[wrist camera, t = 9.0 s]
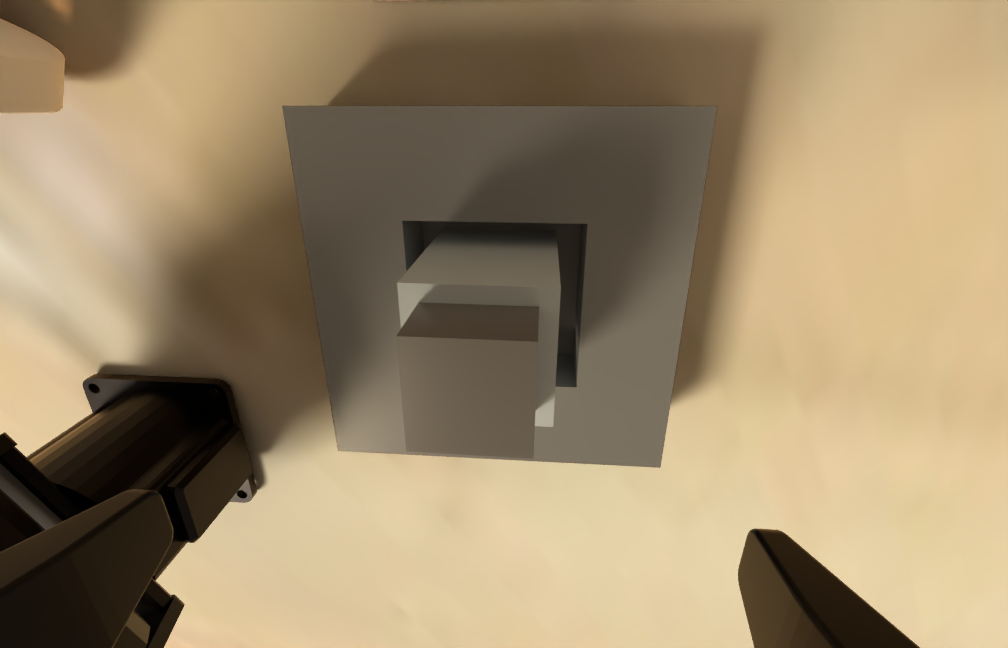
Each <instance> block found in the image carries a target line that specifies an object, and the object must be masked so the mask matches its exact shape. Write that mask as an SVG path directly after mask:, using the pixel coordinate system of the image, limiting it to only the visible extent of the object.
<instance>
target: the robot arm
mask: <svg viewBox="0 0 1008 648" xmlns="http://www.w3.org/2000/svg"><path fill="white" fill-rule="evenodd" d="M83 388H84V391H85V394H86V396H87V399H88V401H89V404H90V406H91V409H92V412H93V413H92V414H90V415H89V416H87V417H86V418H84V419H83V420H81V421H80V422H78V423H77V424H75V425H74V426H72V427H71V428H69V429H68V430H66V431H65V432H63V433H62V434H60V435H59V436H57V437H56V438H54V439H53V440H51V441H50V442H48V443H47V444H45V445H44V446H42V447H41V448H39V449H38V450H36V451H35V452H33V453H32V454H30V455H29V456H28V457H25V456H24V455H23V454H22V453H21V452H20V451H19V450H18V449H17V448H16V447H15V446H16V445H17V443H16V442H15V441H14V440H13V439H12V438H11V437H9V436H8V435H7V434H6V433H5V432H4V433H3V434H1V435H0V648H164V646H165V644H166V642H167V640H168V638H169V636H170V634H171V632H172V630H173V627H174V625H175V623H176V621H177V619H178V617H179V615H180V613H181V611H182V609H183V607H184V603H183V602H182V601H181V600H180V599H179V598H178V597H177V596H175V595H170V594H169V593H168V592H167V591H166V590H165V589H164V588H163V587H162V586H161V585H160V584H158V583H157V582H156V579H157V578H158V577H159V576H160V575H161V573H162V572H163V571H164V570H165V569H166V567H167V566H168V565H169V564H170V563H171V561H172V560H173V559H174V558H175V556H176V555H177V554H178V553H179V552H180V550H181V549H182V548H183V547H184V546H185V544H186V543H187V542H190V543H194V542H195V541H197V540H198V539H199V538H200V537H201V536H202V534H203V533H204V532H205V531H206V529H207V528H208V527H209V526H210V525H211V523H212V522H213V521H214V520H215V518H216V517H217V516H218V515H219V513H220V512H221V511H222V510H223V508H224V507H225V506H226V505H227V503H228V502H243V503H245V502H249V501H251V500H252V498H253V497H254V496H255V494H256V492H257V488H256V484H255V480H254V476H253V472H252V467H251V463H250V459H249V455H248V451H247V447H246V443H245V439H244V435H243V431H242V428H241V425H240V421H239V417H238V413H237V409H236V405H235V401H234V397H233V393H232V389H231V387H230V385H229V384H228V383H227V382H225V381H224V380H221V379H207V378H183V377H159V376H135V375H111V374H94V375H93V376H91V377H89V378H87V379H86V380H85V381H84V382H83ZM215 389H217V390H218V391H219V392H220V393H218V392H217V391H216V390H215ZM244 491H245V492H244ZM738 581H739V587H740V591H741V595H742V599H743V603H744V607H745V611H746V616H747V620H748V624H749V628H750V632H751V636H752V640H753V644H754V648H920V647H919V646H917V645H916V644H915V643H914V642H913V641H912V640H910V639H909V638H908V637H907V636H906V635H904V634H903V633H902V632H901V631H900V630H899V629H897V628H896V627H895V626H894V625H893V624H891V623H890V622H889V621H888V620H887V619H886V618H884V617H883V616H882V615H881V614H880V613H878V612H877V611H876V610H875V609H874V608H873V607H871V606H870V605H869V604H868V603H867V602H866V601H864V600H863V599H862V598H861V597H860V596H858V595H857V594H856V593H855V592H854V591H853V590H851V589H850V588H849V587H848V586H847V585H845V584H844V583H843V582H842V581H841V580H840V579H838V578H837V577H836V576H835V575H834V574H833V573H831V572H830V571H829V570H828V569H827V568H825V567H824V566H823V565H822V564H821V563H820V562H818V561H817V560H816V559H815V558H814V557H812V556H811V555H810V554H809V553H808V552H807V551H805V550H804V549H803V548H802V547H801V546H800V545H798V544H797V543H796V542H795V541H794V540H792V539H791V538H790V537H789V536H788V535H786V534H785V533H783V532H782V531H779V530H770V529H752V530H750V532H749V533H748V535H747V538H746V542H745V546H744V550H743V553H742V557H741V561H740V565H739V569H738Z"/></svg>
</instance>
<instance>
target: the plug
mask: <svg viewBox="0 0 1008 648" xmlns="http://www.w3.org/2000/svg"><path fill="white" fill-rule="evenodd" d="M397 289H398V301H399V312H400V324H401V329H400V331H399V333H398V334H397V336H396V341H397V352H398V363H399V375H400V386H401V397H402V409H403V420H404V431H405V442H406V452H423V453H441V454H459V455H477V456H495V457H513V458H531V459H534V435H535V426H542V427H553V422H554V403H555V385H556V367H557V349H558V331H559V312H560V294H561V284H560V271H559V259H558V247H557V234H556V231H522V230H480V229H443V230H442V231H441V232H440V233H439V234H438V235H437V237H436V238H435V239H434V240H433V241H432V242H431V244H430V245H429V246H428V247H427V248H426V249H425V251H424V252H423V253H422V254H421V255H420V256H419V258H418V259H417V260H416V261H415V262H414V263H413V265H412V266H411V267H410V268H409V269H408V270H407V272H406V273H405V274H404V275H403V276H402V277H401V279H400V280H399V281H398V282H397Z"/></svg>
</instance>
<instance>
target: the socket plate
mask: <svg viewBox="0 0 1008 648" xmlns="http://www.w3.org/2000/svg"><path fill="white" fill-rule="evenodd" d="M282 107H283V113H284V120H285V126H286V132H287V138H288V144H289V151H290V157H291V163H292V169H293V175H294V181H295V188H296V194H297V200H298V206H299V212H300V218H301V225H302V231H303V237H304V243H305V249H306V255H307V262H308V268H309V274H310V280H311V286H312V292H313V299H314V305H315V311H316V317H317V323H318V329H319V336H320V342H321V348H322V354H323V360H324V366H325V373H326V379H327V385H328V391H329V397H330V404H331V410H332V416H333V422H334V428H335V434H336V441H337V447H338V451H349V452H368V453H388V454H407V455H426V456H446V457H465V458H485V459H504V460H523V461H543V462H562V463H582V464H601V465H620V466H640V467H659V468H660V466H661V460H662V453H663V447H664V441H665V434H666V428H667V422H668V415H669V409H670V403H671V396H672V390H673V384H674V377H675V371H676V364H677V358H678V352H679V345H680V339H681V333H682V326H683V320H684V314H685V307H686V301H687V295H688V288H689V282H690V276H691V269H692V263H693V257H694V250H695V244H696V238H697V231H698V225H699V218H700V212H701V206H702V199H703V193H704V187H705V180H706V174H707V168H708V161H709V155H710V149H711V142H712V136H713V130H714V123H715V117H716V111H717V106H282ZM443 229H480V230H522V231H556V234H557V247H558V259H559V271H560V284H561V294H560V312H559V331H558V349H557V367H556V385H555V403H554V422H553V427H542V426H535V435H534V459H531V458H513V457H495V456H477V455H459V454H441V453H423V452H406V442H405V431H404V420H403V409H402V397H401V386H400V375H399V363H398V352H397V341H396V336H397V334H398V333H399V331H400V329H401V324H400V312H399V301H398V289H397V282H398V281H399V280H400V279H401V277H402V276H403V275H404V274H405V273H406V272H407V270H408V269H409V268H410V267H411V266H412V265H413V263H414V262H415V261H416V260H417V259H418V258H419V256H420V255H421V254H422V253H423V252H424V251H425V249H426V248H427V247H428V246H429V245H430V244H431V242H432V241H433V240H434V239H435V238H436V237H437V235H438V234H439V233H440V232H441V231H442V230H443Z"/></svg>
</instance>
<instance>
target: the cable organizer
mask: <svg viewBox="0 0 1008 648" xmlns="http://www.w3.org/2000/svg"><path fill="white" fill-rule="evenodd" d="M64 70H65V57H64V55H63V54H62V53H61V51H59V50H58V49H57V48H56V47H54V46H53V45H52V44H50V43H48V42H47V41H45V40H44V39H42V38H40V37H38V36H36V35H35V34H33V33H31V32H29V31H27V30H25V29H22V28H20V27H18V26H16V25H14V24H12V23H9V22H7V21H5V20H3V19H0V114H39V113H53V112H57V111H60V110H61V109H62V108H63V93H64Z"/></svg>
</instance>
